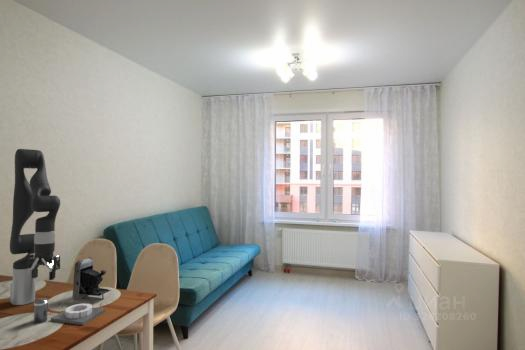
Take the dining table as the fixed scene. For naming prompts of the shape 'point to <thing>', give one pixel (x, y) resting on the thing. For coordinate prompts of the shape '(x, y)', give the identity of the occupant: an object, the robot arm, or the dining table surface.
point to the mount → (78, 314)
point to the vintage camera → (87, 280)
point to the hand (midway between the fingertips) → (43, 278)
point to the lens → (40, 310)
